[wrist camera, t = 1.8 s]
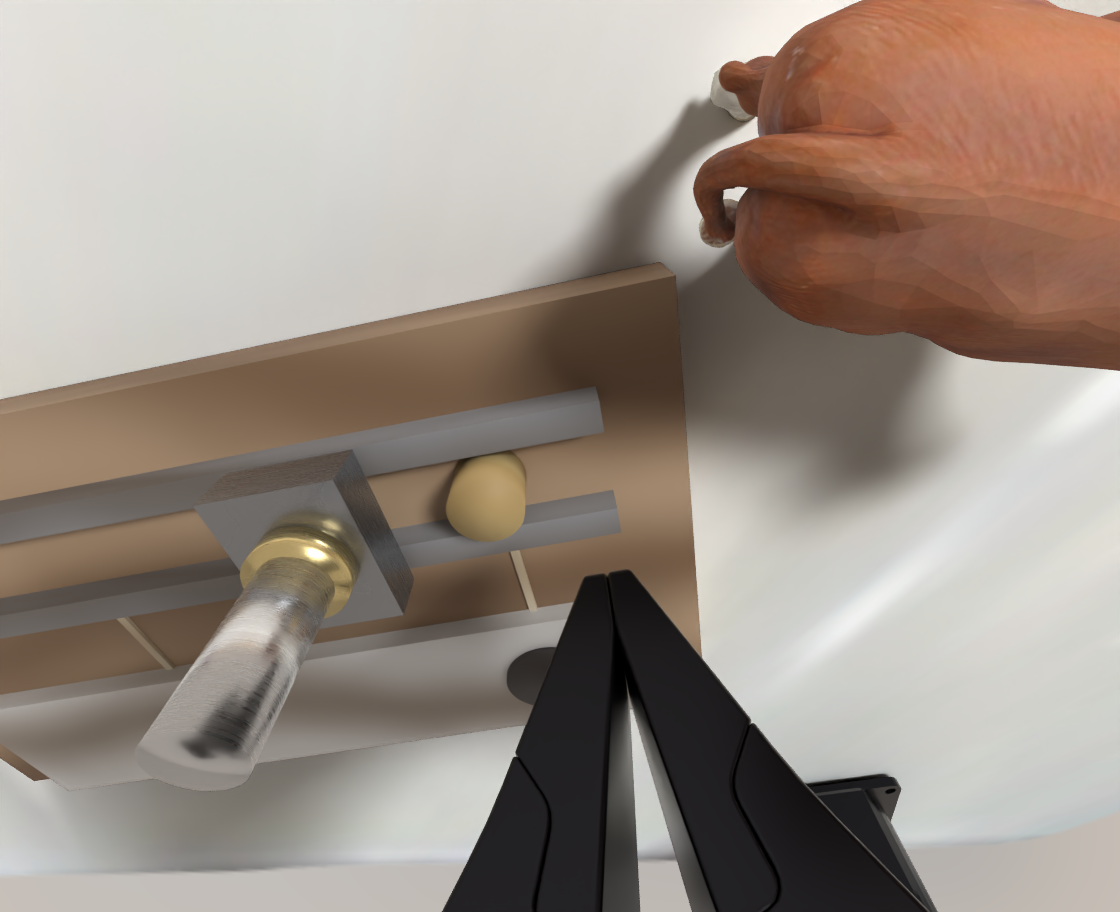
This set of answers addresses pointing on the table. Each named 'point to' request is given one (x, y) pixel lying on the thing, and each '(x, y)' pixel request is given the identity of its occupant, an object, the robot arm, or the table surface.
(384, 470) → the brown flat wooden board
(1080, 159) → the bull figurine
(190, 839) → the table surface
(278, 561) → the sliding handle
